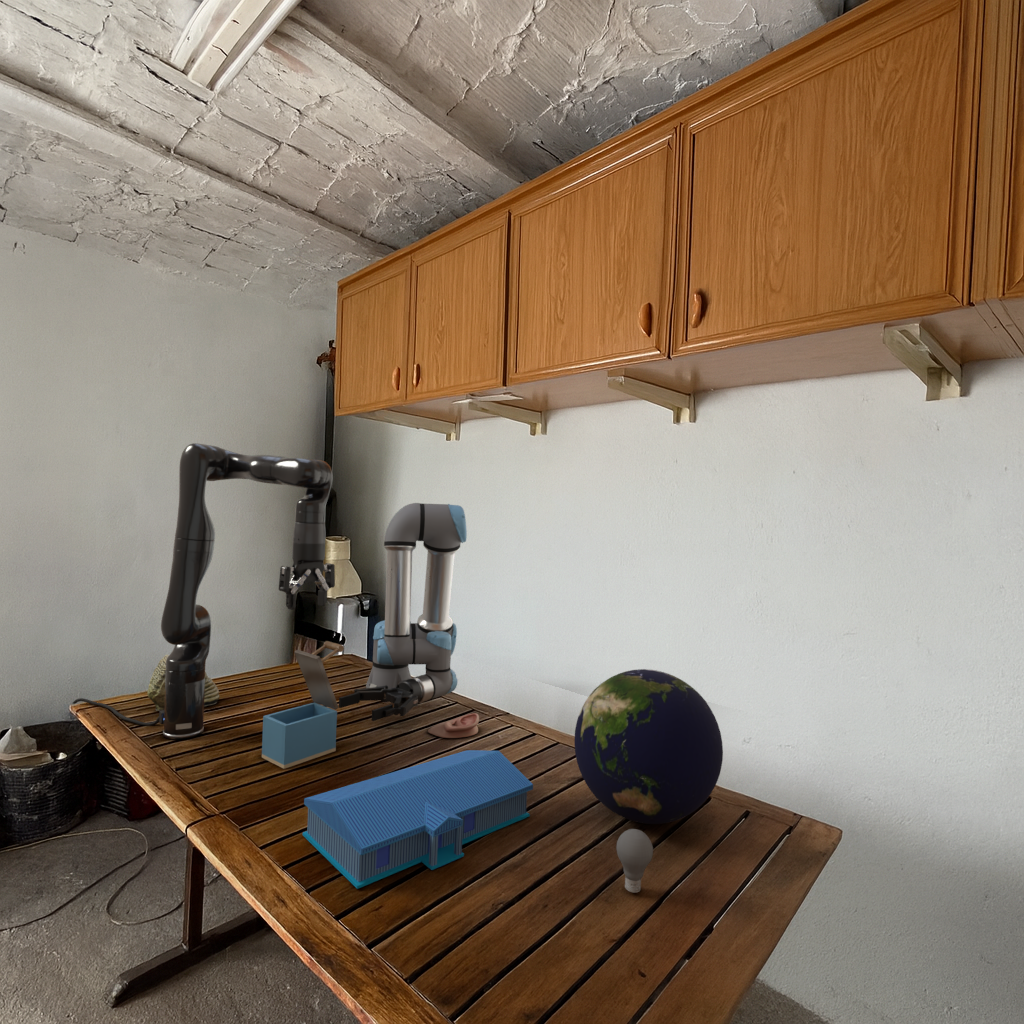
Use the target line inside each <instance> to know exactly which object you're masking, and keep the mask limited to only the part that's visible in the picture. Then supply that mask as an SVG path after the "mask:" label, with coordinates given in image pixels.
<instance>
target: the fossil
mask: <svg viewBox="0 0 1024 1024" xmlns="http://www.w3.org/2000/svg"><path fill="white" fill-rule="evenodd" d="M169 655H170V654H165V655H164V656H163V657H162V658H161V659H160V660H159V662H158V663H157V666H156V667H155V669H154V670H153V672H152V675H151V677H150V680H149V684H148V688H147V697H148V699H149V700H150V701H152V703H153V704H154V706H155V711H158V712H159V711H162V710H164V705H165V674H166V659H167V657H168V656H169ZM220 698H221V696H220V690H219V688H218V686H217V685H216V683H215V682H214V681H213V679H212V678H211V677H209V675H208V674H207V672H206V671H205V693H204V707H207V706H213V705H215V704H217V703H218V701H219V699H220Z"/></svg>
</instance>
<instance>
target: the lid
mask: <svg viewBox="0 0 1024 1024" xmlns="http://www.w3.org/2000/svg"><path fill="white" fill-rule="evenodd" d="M323 642H324V643H323V645H322V646H321V647H319V648H318V649H316V650H315V651H313V652H312V653H310V652H306V651H303V650H300V649H296V650H295V651H294V655H295V658H296V660H297V663H298V666H299V668H300V671H301V673H302V676H303V679H304V682H305V684H306V686H307V689H308V692H309V694H310V697H311V700H312V702H313V703H314V702H315V703H317V704H320V705H322V706H325V707H328V708H330V709H333V710H336V711H337V709H340V708H339V703H338V702H337V698H336V696H335V694H334V691H333V688H332V685H331V682H330V680H329V677H328V674H327V672H326V669H325V666H324V662H326V661H328V660H329V659H330V658H332V657H333V656H335V655H336V654H337V653H342V652H343V651H344V649H345V647H344V645H343V644H341V643H340V644H339V643H336V642H332V641H329V640H325V641H323ZM326 649H328V650H331V652H330V653H328V654H327V655H325V656H324V657H322V658H321V656H320V655H318V654H320V653H321V652H323V651H325V650H326Z"/></svg>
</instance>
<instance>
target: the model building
mask: <svg viewBox="0 0 1024 1024" xmlns="http://www.w3.org/2000/svg"><path fill="white" fill-rule="evenodd" d="M532 790H534V783H532V782H531V781H530V780H529V779H528V778H527V776H525V775H524V774H523V773H522V772H521V771H520V770H519V769H518V768H517V767H516V766H515V765H514V764H513V763H512V762H511V761H510V760H509V758H507V757H506V756H505V755H504V754H503V753H502V752H501V751H500V750H484V749H483V750H481V749H479V750H477V749H474V750H473V749H470V750H469V749H467V750H463V751H460V752H456V753H452V754H450V755H446V756H443V757H439V758H436V759H433V760H429V761H427V762H423V763H420V764H416V765H413V766H410V767H406V768H402V769H399V770H396V771H392V772H389V773H386V774H382V775H379V776H376V777H372V778H369V779H365V780H362V781H359V782H355V783H352V784H348V785H346V786H342V787H338V788H336V789H332V790H328V791H325V792H321V793H318V794H315V795H312V796H308V797H304V798H303V805H304V806H305V807H307V830H305V831H302V836H303V837H304V838H305V839H306V840H307V841H308V842H309V843H310V844H311V845H312V846H313V847H314V848H315V849H316V850H317V851H318V852H319V853H320V854H321V855H322V856H323V857H324V858H325V859H326V860H327V861H328V862H329V863H330V864H331V865H332V866H333V867H334V868H335V869H336V870H337V871H338V872H339V873H340V874H341V875H343V877H345V879H346V880H347V881H348V882H350V883H351V885H352V886H354V887H355V888H356V890H359V889H361V888H364V887H365V886H368V885H371V884H373V883H376V882H378V881H380V880H381V879H385V878H387V877H390V876H391V875H394V874H396V873H400V872H401V871H403V870H406V869H408V868H411V867H413V866H415V865H418V864H420V863H422V865H424V866H426V867H427V868H428V869H429V870H431V871H434V870H436V869H438V868H440V867H443V866H445V865H447V864H450V863H452V862H455V861H456V860H459V859H461V858H463V857H465V853H464V852H463V845H465V844H468V843H471V842H472V841H475V840H477V839H480V838H481V837H484V836H486V835H489V834H492V833H493V832H496V831H498V830H501V829H503V828H505V827H508V826H510V825H513V824H515V823H517V822H520V821H522V820H525V819H527V818H529V817H530V816H531V814H530V813H529V812H528V811H527V801H528V798H527V797H528V792H530V791H532Z"/></svg>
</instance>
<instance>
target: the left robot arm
mask: <svg viewBox="0 0 1024 1024" xmlns="http://www.w3.org/2000/svg"><path fill="white" fill-rule="evenodd" d="M178 472H179V473H178V474H179V475H178V476H179V477H178V478H179V479H178V482H179V486H178V496H179V497H178V507H177V517H176V518H177V520H176V526H175V527H176V528H175V533H174V542H173V550H172V552H173V553H172V561H171V569H170V576H169V585H168V589H167V590H168V591H167V595H166V599H165V604H164V608H163V612H162V615H161V622H160V631H161V634H162V638H163V639H164V640H165V641H166V642H167V643H169V644H170V645H173V646H174V647H173V649H172V651H171V652H170V653H169V654H168V655H169V656H168V657H167V659H166V674H165V705H164V710H162V711H159V710H158V712H159V713H158V717H157V718H156V719H155V720H154V721H151V722H144V721H141V720H136V719H133V718H131V717H127V716H125V715H124V714H122V713H120V712H119V711H118V710H116V709H115V707H113V706H111V705H108V704H106V703H102V702H98V701H93V700H92V699H91V700H90V699H87V698H82V697H81V698H79V697H78V698H76V699H74V701H72V703H71V704H72V705H76V704H77V703H79V702H83V703H87V704H90V705H93V706H98V707H102V708H105V709H107V710H109V711H110V712H112V713H113V714H114V715H115V716H117V717H118V718H120V719H122V720H124V721H126V722H129V723H132V724H136V725H139V726H147V727H148V726H150V727H151V726H155V725H157V724H158V723H160V725H163V730H162V737H164V738H166V739H169V740H185V739H190V738H191V739H192V738H194V737H197V736H199V735H202V734H203V732H204V730H205V729H204V727H205V725H204V722H205V721H204V718H205V706H204V693H205V672H206V664H207V663H206V662H207V658H208V655H209V653H210V647H211V636H212V635H211V634H212V619H211V615H210V613H209V611H208V610H207V608H206V607H204V606H203V605H200V604H197V597H198V592H199V588H200V586H201V584H202V581H203V580H204V577H205V575H206V573H207V572H208V569H209V567H210V566H211V562H212V560H213V555H214V550H215V539H216V530H215V526H214V523H213V521H212V518H211V516H210V513H209V510H208V507H207V504H206V487H207V482H218V481H225V480H226V481H227V480H239V479H240V480H249V481H253V482H258V483H262V484H270V485H278V486H279V485H282V486H285V485H286V486H291V487H297V488H302V489H303V488H304V489H305V493H304V495H303V497H301V498H299V499H297V500H296V503H295V507H294V508H295V510H294V511H295V512H294V526H293V532H292V561H293V562H292V566H288V565H287V566H286V565H281V566H280V568H279V579H278V591H279V592H283V593H285V605H286V606H285V607H286V608H287V609H288V610H292V611H293V610H295V609H296V601H297V597H296V596H297V595H296V592H297V591H298V589H299V588H300V587H302V585H303V584H309V583H313V584H315V585H316V586H317V588H318V589H319V590H317V605H318V606H320V607H324V606H326V604H327V602H328V591H329V590H330V589H333V588H334V587H335V586H336V574H335V573H336V571H335V569H336V568H335V567H336V566H335V564H334V563H329V562H326V563H325V564H324V560H325V558H326V538H327V537H326V536H327V535H326V533H327V532H326V505H327V504H328V503H327V502H328V500H329V498H330V492H331V489H332V485H333V477H334V476H333V470H332V467H331V466H330V464H328V462H326V461H324V460H321V459H313V458H312V459H311V458H306V457H305V458H304V457H287V456H282V455H272V454H271V455H270V454H253V455H251V454H242V453H238V452H235V451H232V450H228V449H224V448H222V447H220V446H216V445H211V444H205V443H198V442H197V443H195V442H194V443H190V444H188V445H187V446H186V447H184V449H183V451H182V453H181V455H180V460H179V471H178ZM323 573H324V576H323ZM292 574H293V575H292ZM291 576H292V577H291ZM97 702H98V703H97Z"/></svg>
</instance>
